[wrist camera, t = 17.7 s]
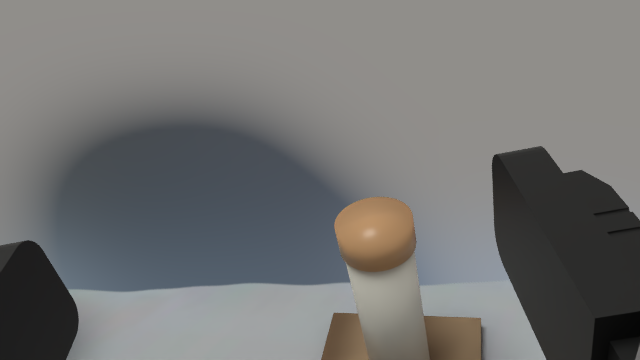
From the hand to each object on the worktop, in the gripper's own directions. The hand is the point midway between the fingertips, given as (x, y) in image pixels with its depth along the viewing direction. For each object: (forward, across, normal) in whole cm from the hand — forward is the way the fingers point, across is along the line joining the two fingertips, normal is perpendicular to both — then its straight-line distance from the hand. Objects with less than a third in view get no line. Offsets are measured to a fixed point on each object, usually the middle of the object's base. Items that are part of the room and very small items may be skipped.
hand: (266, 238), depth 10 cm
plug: (+19, -2, +29) cm, 35 cm away
